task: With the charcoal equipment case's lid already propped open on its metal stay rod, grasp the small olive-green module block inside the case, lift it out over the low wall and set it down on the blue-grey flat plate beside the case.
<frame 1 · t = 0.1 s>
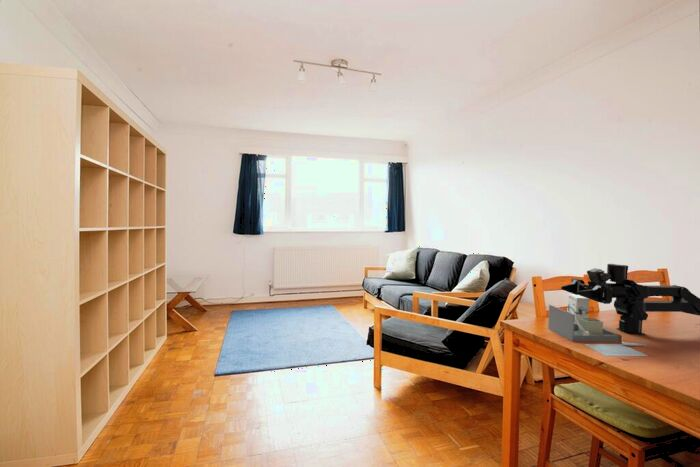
hand: (569, 290, 132), 17 cm above the table, tool horizontal, fingers open, 9 cm apart
module: (590, 335, 128), resting on equipment case
ink box: (576, 323, 145), on the table
blue-grey flat plate: (614, 351, 114), on the table
equipment case: (582, 335, 129), on the table
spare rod: (633, 346, 118), on the table, touching blue-grey flat plate
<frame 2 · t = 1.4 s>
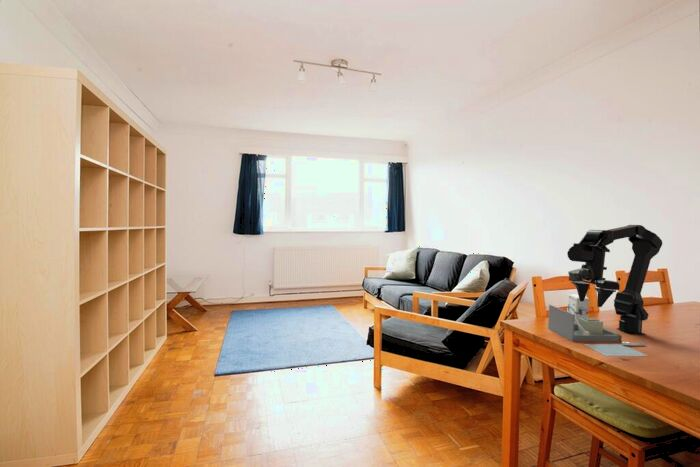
hand: (590, 304, 127), 12 cm above the table, tool pointing down, fingers open, 9 cm apart
nothing on the table moved.
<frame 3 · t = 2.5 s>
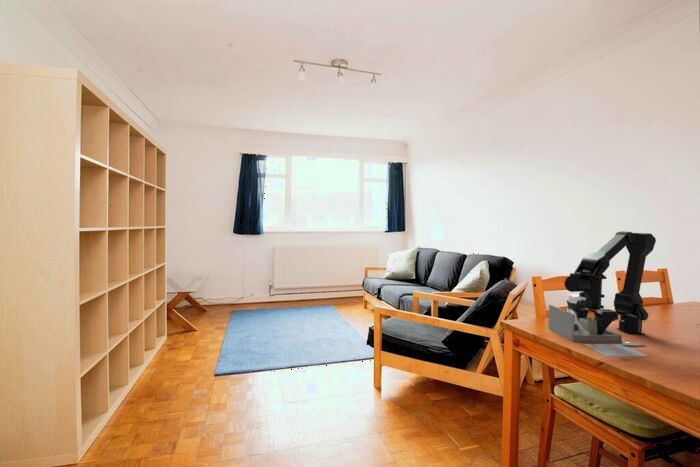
hand: (590, 331, 128), 2 cm above the table, tool pointing down, fingers open, 9 cm apart
nothing on the table moved.
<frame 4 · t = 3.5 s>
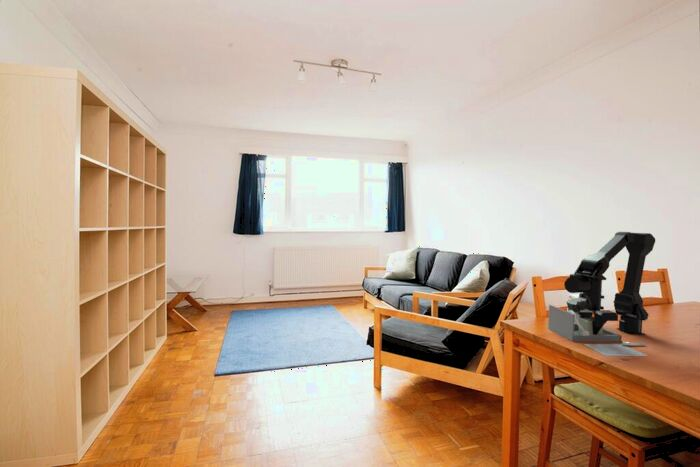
hand: (590, 332, 128), 2 cm above the table, tool pointing down, fingers closed on module, 4 cm apart
module: (590, 335, 128), resting on equipment case, touching gripper
everything else where it was.
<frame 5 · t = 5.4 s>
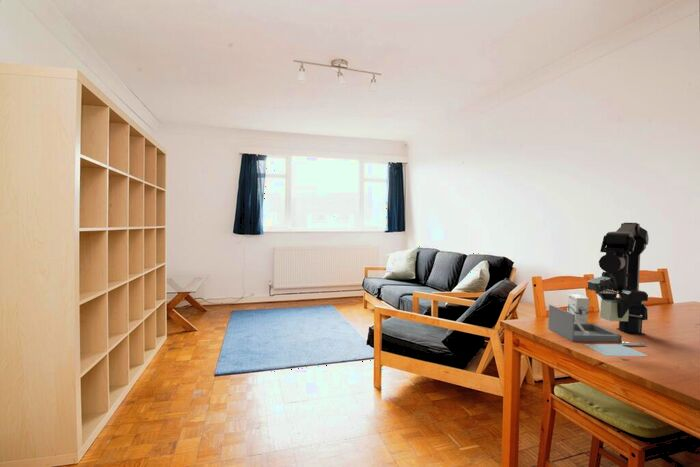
hand: (614, 316, 114), 12 cm above the table, tool pointing down, fingers closed on module, 4 cm apart
module: (613, 319, 114), point 11 cm above the table, touching gripper
everything else where it was.
when the fingers open (3 cm above the table, at t = 7.5 s): module drops 1 cm, resting on blue-grey flat plate.
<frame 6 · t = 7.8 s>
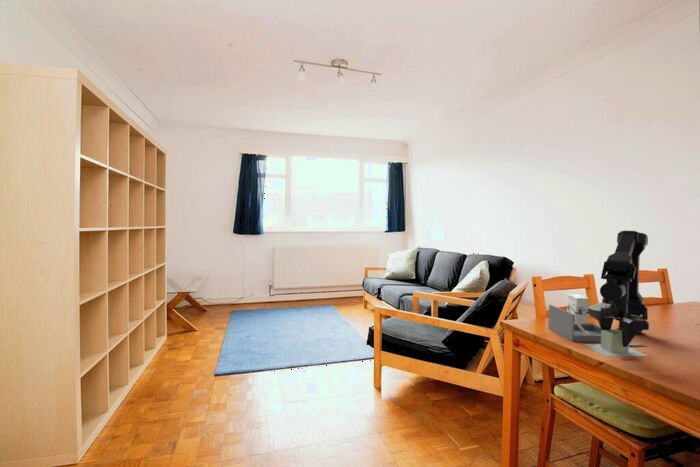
hand: (615, 342, 114), 3 cm above the table, tool pointing down, fingers open, 8 cm apart
module: (614, 349, 114), resting on blue-grey flat plate
everything else where it was.
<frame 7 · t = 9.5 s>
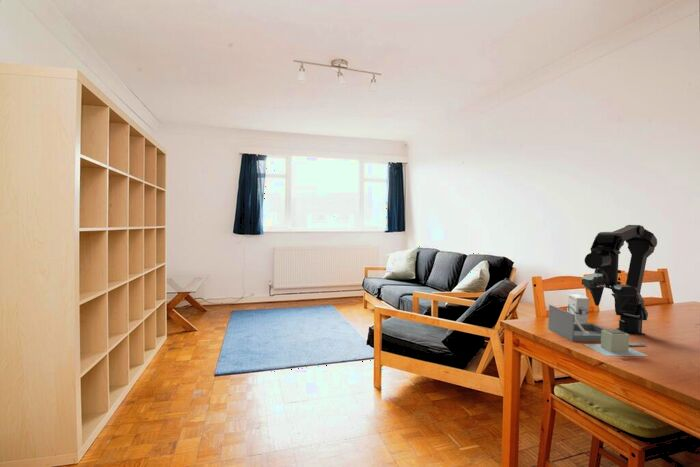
hand: (606, 308, 124), 12 cm above the table, tool pointing down, fingers open, 9 cm apart
nothing on the table moved.
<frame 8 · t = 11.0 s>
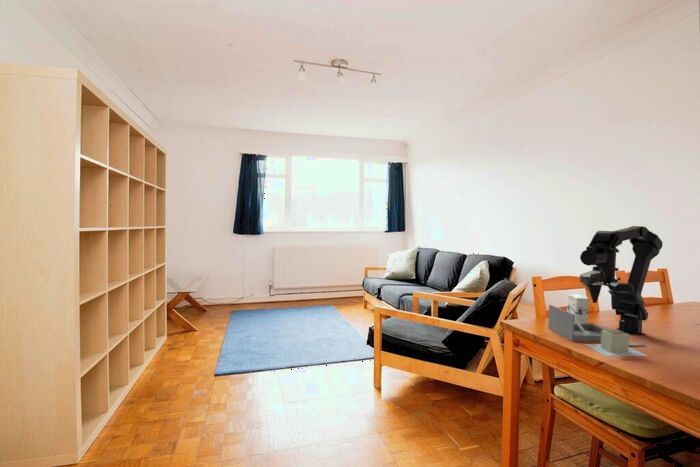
hand: (603, 306, 126), 12 cm above the table, tool pointing down, fingers open, 9 cm apart
nothing on the table moved.
at the end: module inside the target area (0.4 cm from its centre), resting on blue-grey flat plate; module tilted 0°; the gripper is holding nothing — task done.
